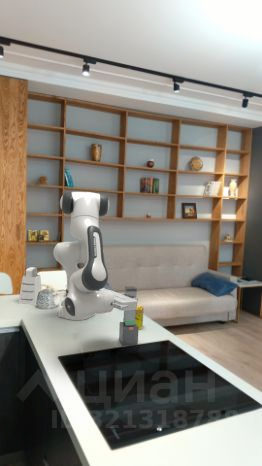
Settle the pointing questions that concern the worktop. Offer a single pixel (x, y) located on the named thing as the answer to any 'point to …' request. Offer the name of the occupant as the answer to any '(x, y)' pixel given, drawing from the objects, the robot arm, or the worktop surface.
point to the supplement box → (139, 316)
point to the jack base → (128, 335)
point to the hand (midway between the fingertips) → (132, 297)
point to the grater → (30, 287)
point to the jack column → (130, 314)
